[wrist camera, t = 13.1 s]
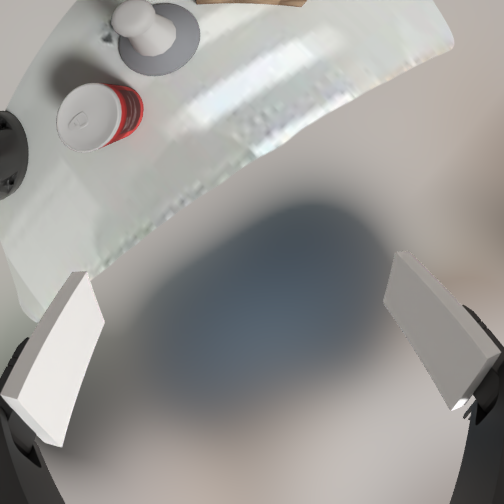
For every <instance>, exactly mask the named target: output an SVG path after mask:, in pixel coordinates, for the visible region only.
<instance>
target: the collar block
mask: <svg viewBox="0 0 504 504" xmlns="http://www.w3.org/2000/svg"><path fill="white" fill-rule="evenodd" d="M306 1H307V0H196V2H197V4H215V3H254V4H273V5H286V6H295V7H302V6H303V4H304V3H305V2H306Z"/></svg>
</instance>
